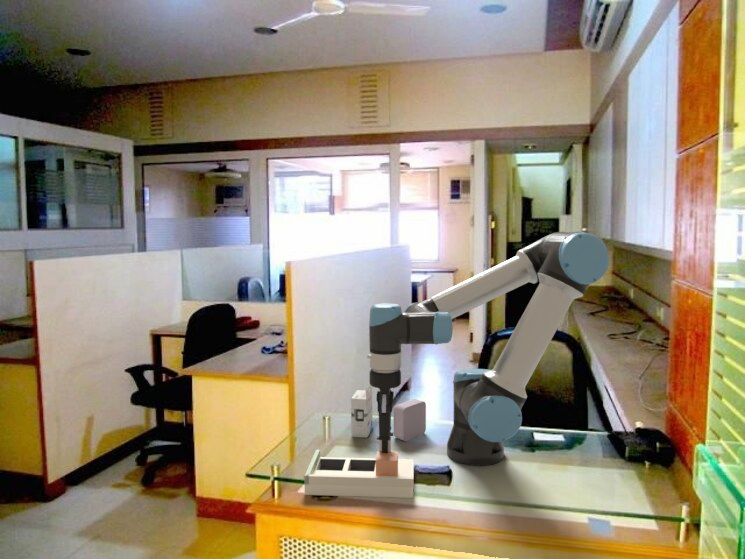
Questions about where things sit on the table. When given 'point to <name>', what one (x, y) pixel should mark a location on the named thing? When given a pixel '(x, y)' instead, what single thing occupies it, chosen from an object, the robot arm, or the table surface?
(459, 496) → the table surface
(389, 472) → the terracotta block
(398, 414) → the electronic device
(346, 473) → the tray
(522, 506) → the table surface
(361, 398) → the ink box
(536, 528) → the table surface
